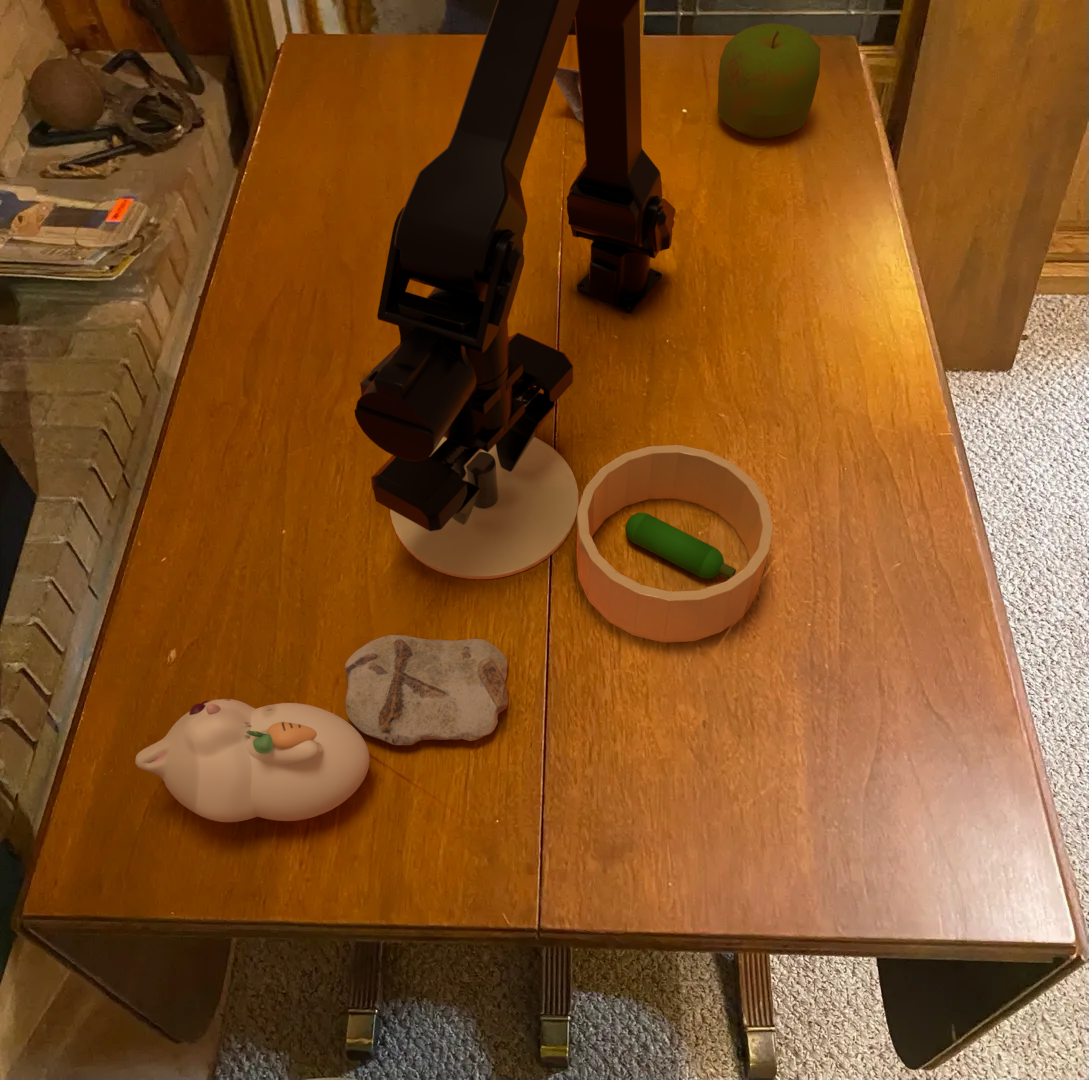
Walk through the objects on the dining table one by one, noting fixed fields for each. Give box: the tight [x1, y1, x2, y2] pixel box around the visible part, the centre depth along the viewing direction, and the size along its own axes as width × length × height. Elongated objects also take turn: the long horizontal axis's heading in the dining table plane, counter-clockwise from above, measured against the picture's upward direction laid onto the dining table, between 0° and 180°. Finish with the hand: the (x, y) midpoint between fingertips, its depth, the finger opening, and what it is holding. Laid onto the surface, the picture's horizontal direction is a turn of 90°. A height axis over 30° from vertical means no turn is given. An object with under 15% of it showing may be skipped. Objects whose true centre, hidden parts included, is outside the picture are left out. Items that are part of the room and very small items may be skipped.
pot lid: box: [389, 436, 580, 580], centre depth 84 cm, size 16×16×6 cm
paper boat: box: [553, 66, 583, 123], centre depth 116 cm, size 12×6×9 cm
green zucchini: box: [624, 512, 737, 580], centre depth 81 cm, size 10×3×3 cm
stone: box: [344, 634, 510, 746], centre depth 74 cm, size 12×9×3 cm
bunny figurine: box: [134, 698, 371, 823], centre depth 69 cm, size 10×8×15 cm
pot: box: [576, 444, 774, 643], centre depth 80 cm, size 15×15×6 cm
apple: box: [717, 22, 821, 140], centre depth 114 cm, size 11×11×11 cm
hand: (484, 494), depth 85 cm, fingers open, 6 cm apart
